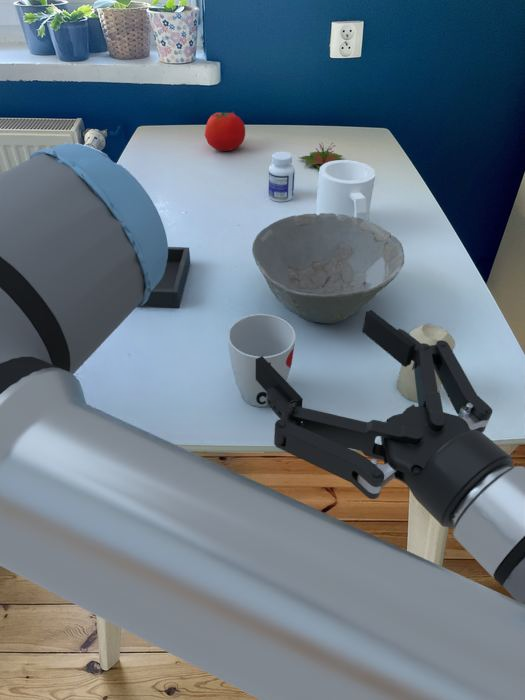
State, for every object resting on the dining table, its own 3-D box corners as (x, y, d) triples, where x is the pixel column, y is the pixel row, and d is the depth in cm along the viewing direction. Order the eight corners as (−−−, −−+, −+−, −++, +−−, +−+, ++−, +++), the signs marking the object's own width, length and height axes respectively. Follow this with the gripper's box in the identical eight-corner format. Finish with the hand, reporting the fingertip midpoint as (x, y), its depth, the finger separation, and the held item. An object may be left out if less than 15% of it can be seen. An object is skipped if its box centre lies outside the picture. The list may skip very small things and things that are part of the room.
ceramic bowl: (233, 335, 80) (232, 279, 73) (272, 255, 96) (274, 204, 89) (384, 364, 75) (397, 308, 69) (398, 275, 92) (409, 223, 85)
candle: (441, 380, 73) (461, 323, 67) (434, 408, 69) (453, 350, 63) (402, 368, 75) (416, 311, 68) (392, 395, 71) (407, 337, 64)
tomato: (252, 146, 134) (252, 110, 128) (228, 159, 127) (227, 123, 122) (221, 138, 137) (220, 103, 132) (197, 151, 131) (194, 115, 125)
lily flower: (288, 159, 128) (289, 140, 125) (328, 149, 133) (330, 130, 130) (319, 178, 120) (321, 158, 117) (360, 166, 125) (363, 147, 122)
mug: (383, 241, 100) (394, 187, 93) (333, 249, 98) (339, 194, 91) (353, 208, 110) (360, 157, 103) (306, 215, 108) (311, 163, 100)
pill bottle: (279, 188, 116) (280, 147, 110) (298, 196, 114) (300, 154, 108) (263, 197, 113) (263, 155, 107) (282, 205, 111) (284, 162, 105)
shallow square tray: (95, 305, 84) (92, 289, 82) (115, 260, 94) (112, 244, 92) (179, 308, 84) (177, 292, 82) (190, 262, 94) (189, 247, 92)
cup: (257, 426, 67) (258, 367, 60) (217, 390, 71) (214, 332, 65) (303, 395, 71) (309, 337, 64) (263, 363, 75) (264, 305, 69)
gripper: (351, 608, 39) (208, 417, 52) (563, 456, 49) (399, 329, 62) (366, 557, 34) (204, 360, 47) (598, 400, 44) (412, 275, 57)
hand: (315, 342), depth 54 cm, fingers open, 13 cm apart
